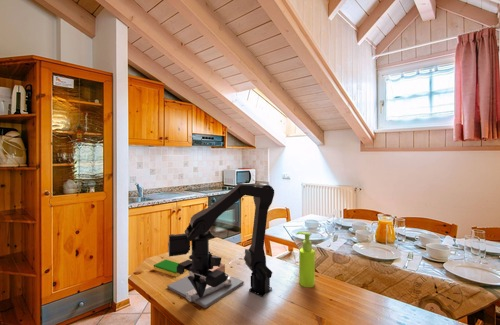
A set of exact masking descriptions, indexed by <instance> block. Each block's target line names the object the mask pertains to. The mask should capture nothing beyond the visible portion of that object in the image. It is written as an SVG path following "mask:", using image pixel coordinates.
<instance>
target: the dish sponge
mask: <svg viewBox="0 0 500 325" xmlns="http://www.w3.org/2000/svg"><path fill="white" fill-rule="evenodd" d="M179 263H180V262H176V261H172V260H169V259H164V260H161V261H160V262H157V263H155V264H153V270H154V271H157V272H160V273H163V274H165V275H169V276H172V277H174V278H176V277H179V276H180V275H181V274H179V273H177V266H178V264H179ZM185 272H189V271H188V270H185V269H184V273H185Z"/></svg>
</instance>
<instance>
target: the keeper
mask: <svg viewBox="0 0 500 325" xmlns="http://www.w3.org/2000/svg"><path fill="white" fill-rule="evenodd" d="M209 270H210V271H215V270H220V271H223V272H225V273H226V264H224V263H220V267H218V266H213V269H209Z"/></svg>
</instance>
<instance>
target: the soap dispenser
mask: <svg viewBox="0 0 500 325" xmlns="http://www.w3.org/2000/svg"><path fill="white" fill-rule="evenodd" d="M296 234H297V235H304V240H302V247H301V248H300V249H299V252H298V254H299V256H298V259H299V262H298V263H299V265H298V266H299V267H298V268H299V270H298V273H299V276H298V277H299V279H298V281H299V282H298V283H299V285H300V286H302V287H304V288H312V287H315V284H316V282H315V281H316V280H315V277H316V276H315V275H316V271H315V270H316V264H315V263H316V250H315V249H313V248H312V245H313V244H312V243H313V242H312V241H311V240H310V237H311V236H312V233H311V232H308V231H303V230H302V231H297V232H296Z"/></svg>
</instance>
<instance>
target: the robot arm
mask: <svg viewBox="0 0 500 325" xmlns="http://www.w3.org/2000/svg"><path fill="white" fill-rule="evenodd" d="M244 196H248V197H253V202H254V207H255V208H254V216H253V217H254V218H253V226H252V233H251V234H252V235H251V241H250V242H251V244H250V246H249V248H247V249H246V248H245V249H244V257H243V261H244V262H245V265H246V266H247V267H248V268H249V270H250V271H251V276H250V288H248V292H250V293H253V294H256V295H258V296H261V297H264V296H265V295H267V294H268V293H269V292H271V291H272V289H273V288H272V287H271V285H270V284H271V282H270V281H271V278H272V276H273V271H272V270H271V269H270V268H269V267H268V266H267V257H266V252H265V238H266V229H267V221H268V212H269V208H270V207H271V205H272V203H273V201H274V197H275V189H274V188H273V186H271V185H270V184H266V183H262V182H261V183H259V182H258V183H256V184H251V183H250V184H249V183H242V182H239V183H237V184H236V185H235V186H234V187H233V188H232V189H230V191H228V192H227V193H226V194H223V196H222V197H220V198H219V199H217V201H216V202H214V203H213V204H212V205H211V206H209V207H207V208H205V209H204V208H203V209H202V210H200V211H198V212H196V213H195V214H193V215H192V216H191V217H190V221H189V224H188V226H187V227H186V229H185V230H184V233H177V234H174V233H173V234H169V235H168V243H167V249H168V251H167V252H168V257H176V256H183V255H187V254H189V252H190V251H191V254H190V255H188V259H186V260H184V261H182V262H178V263H179V264H178V266H177V273H179V274H180V275H183V274H185V272H184V269H185V270H188V271H187V272H188V275H189V277H188V279H189V280H190V282H191V283H192V285H193V287H194V288H195V290H196V292H197V294H198V296H199V297H200V298H201V297H203V295H204V292H205V289H206V286H207V285H209V286H211V287H217V286H218V285H220V284H221V283H223V282H225V281H226V274H227V273H226V271H225V272H223V271H220V270H215V271H210V270H209V269H213V266H218V267H220V263H221V262H222V257H220V256H217V255H215V254H213V253H212V252H211V251H210V248H209V246H210V245H209V242H210V241H209V239H210V240H211V239H214V238H216V237H215V235H214V234H213V233H212V232H211V230H210V229H211V228H212V227H213V226H214V224H215V223H216V221H217V219H219V217H220V216H221V215H223V213H225V212H226V211H228V209H229V208H231V207H232V206H234V204H235V203H237V202H238V201H239V200H241V199H242V198H243V197H244Z"/></svg>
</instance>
